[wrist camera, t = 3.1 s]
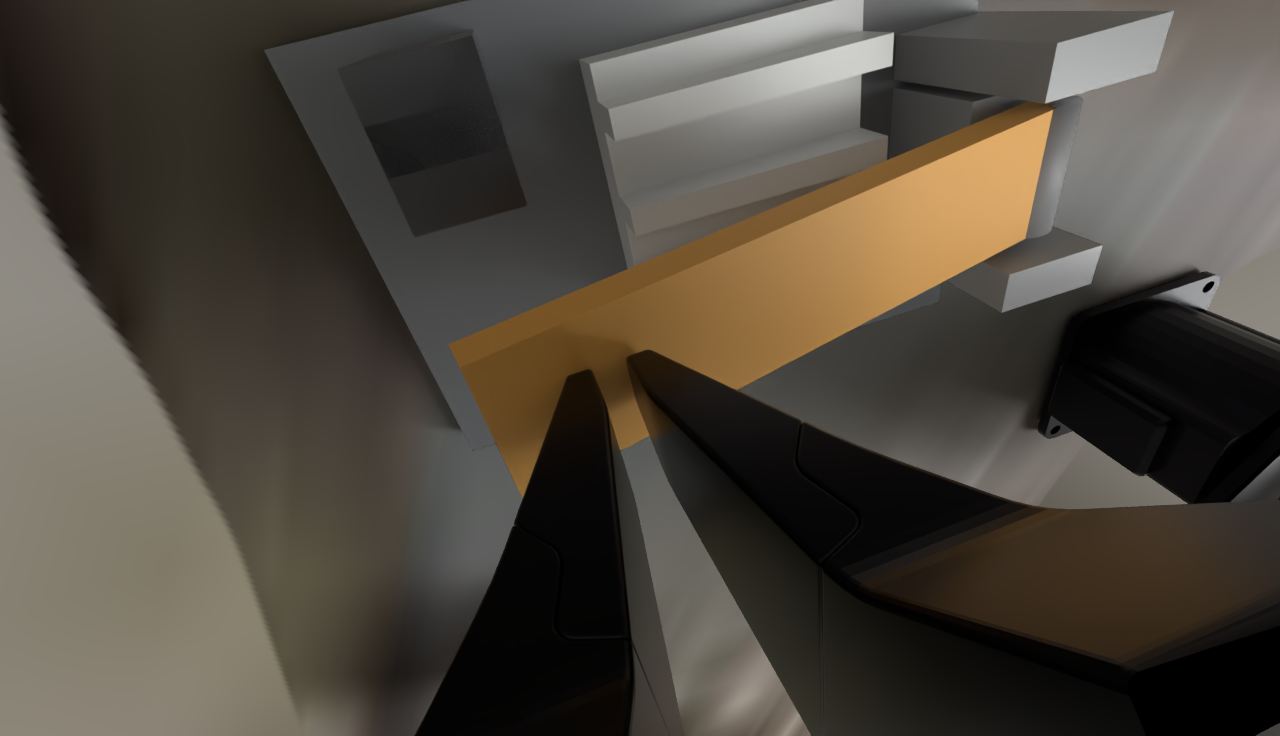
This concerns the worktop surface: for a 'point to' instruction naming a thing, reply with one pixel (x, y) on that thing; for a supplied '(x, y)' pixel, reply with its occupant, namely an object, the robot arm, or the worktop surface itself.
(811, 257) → the strap
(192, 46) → the worktop surface
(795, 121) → the clamp base
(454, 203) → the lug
